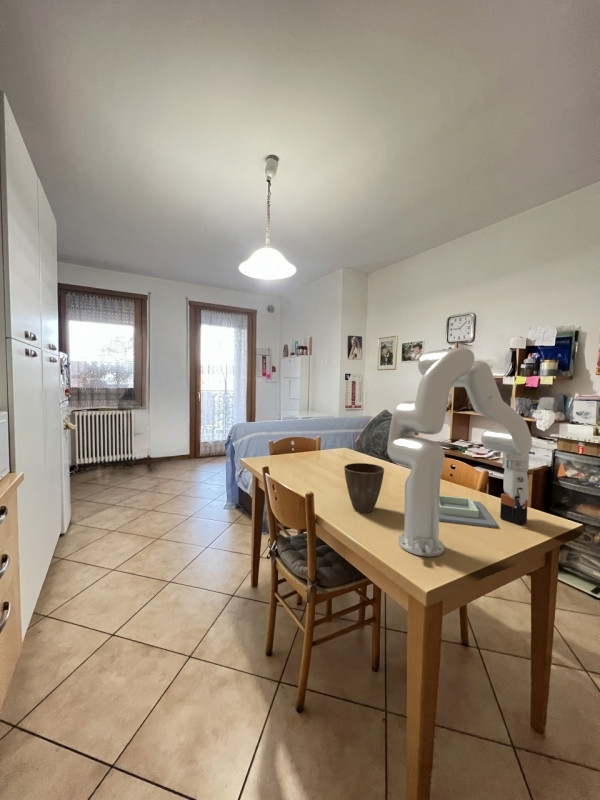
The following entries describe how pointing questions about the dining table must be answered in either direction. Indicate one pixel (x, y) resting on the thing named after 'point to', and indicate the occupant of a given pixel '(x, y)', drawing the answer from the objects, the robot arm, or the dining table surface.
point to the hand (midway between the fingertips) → (513, 514)
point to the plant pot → (363, 485)
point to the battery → (507, 510)
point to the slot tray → (464, 512)
